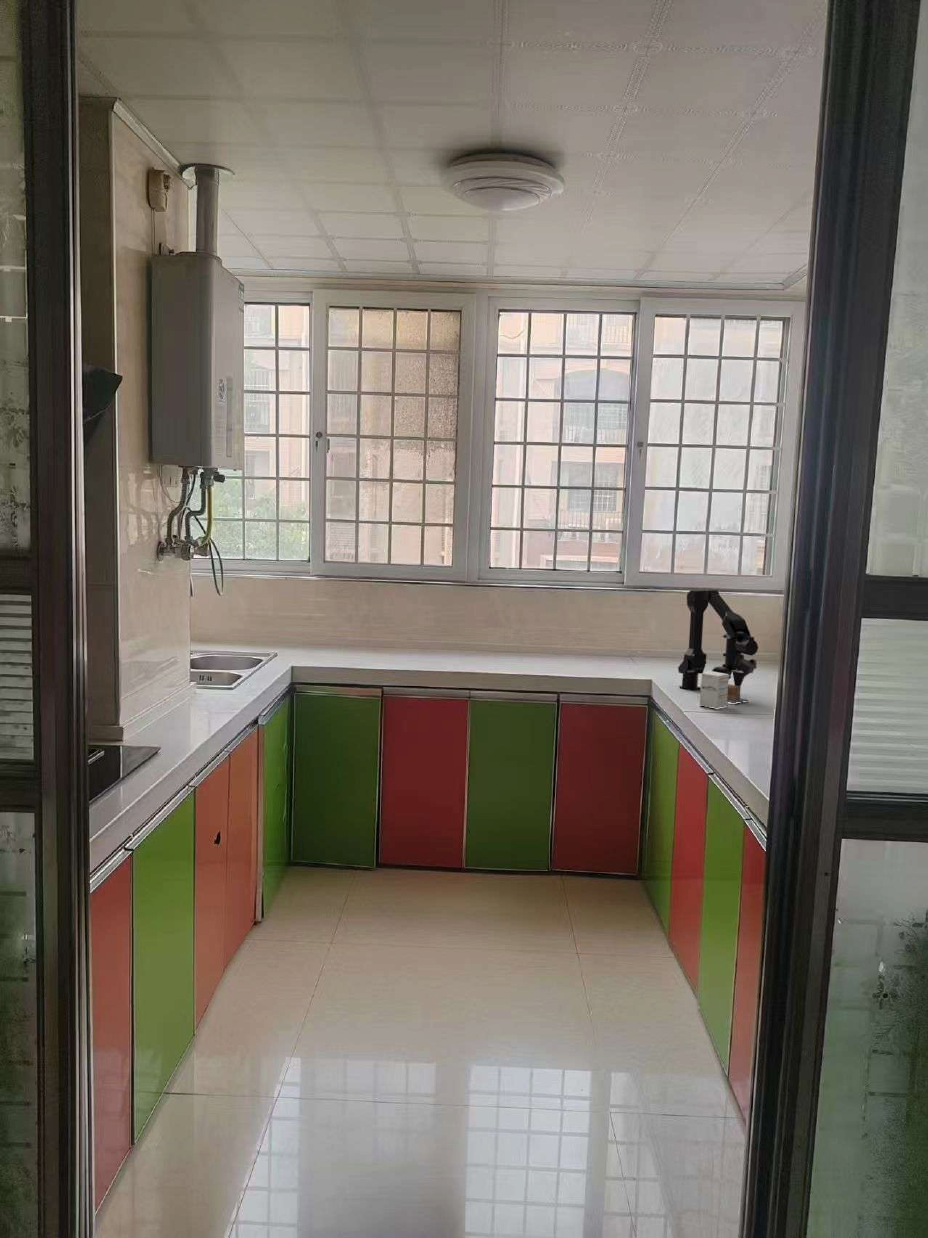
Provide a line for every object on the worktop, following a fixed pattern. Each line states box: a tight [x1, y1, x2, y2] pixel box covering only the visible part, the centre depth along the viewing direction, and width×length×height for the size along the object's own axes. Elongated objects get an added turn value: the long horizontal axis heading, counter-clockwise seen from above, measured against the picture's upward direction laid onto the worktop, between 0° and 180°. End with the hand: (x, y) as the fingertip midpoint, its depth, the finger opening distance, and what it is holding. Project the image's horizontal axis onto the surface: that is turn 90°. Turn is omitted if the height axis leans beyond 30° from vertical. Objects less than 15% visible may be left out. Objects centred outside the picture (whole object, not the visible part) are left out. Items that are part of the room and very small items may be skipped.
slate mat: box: [727, 697, 749, 703], centre depth 366 cm, size 10×9×1 cm
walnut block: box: [727, 683, 742, 701], centre depth 366 cm, size 5×5×5 cm
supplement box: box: [699, 670, 730, 708], centre depth 354 cm, size 7×7×13 cm
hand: (730, 692), depth 366 cm, fingers open, 9 cm apart
